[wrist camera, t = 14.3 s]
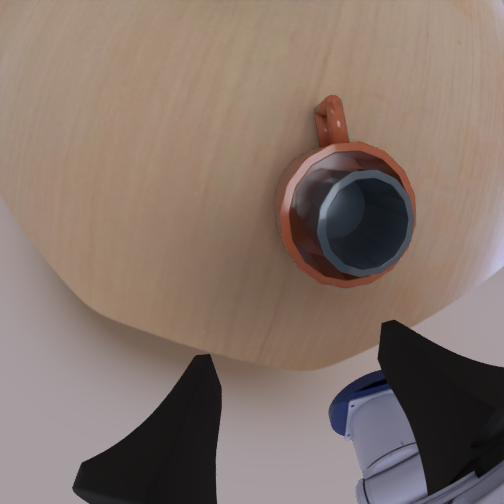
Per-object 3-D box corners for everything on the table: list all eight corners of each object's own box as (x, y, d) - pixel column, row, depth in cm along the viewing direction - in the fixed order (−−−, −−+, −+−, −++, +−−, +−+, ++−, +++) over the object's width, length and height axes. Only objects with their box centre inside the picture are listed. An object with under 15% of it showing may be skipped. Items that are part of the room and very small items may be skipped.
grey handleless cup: (369, 235, 19) (414, 266, 13) (300, 246, 19) (321, 285, 13) (363, 164, 18) (411, 167, 11) (290, 172, 18) (309, 176, 12)
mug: (383, 250, 20) (415, 273, 15) (282, 267, 21) (290, 298, 16) (368, 106, 17) (401, 92, 12) (257, 114, 17) (259, 97, 12)
